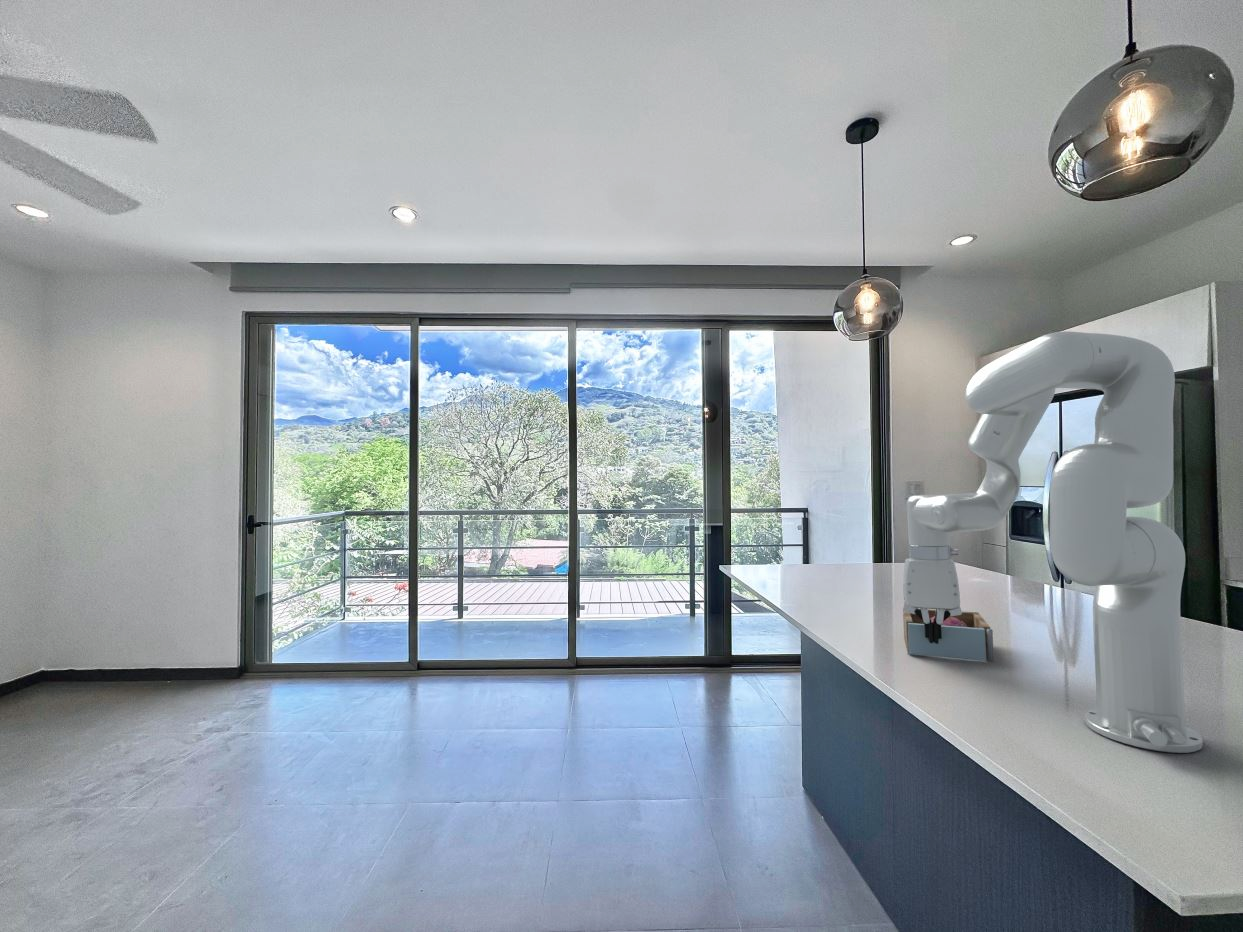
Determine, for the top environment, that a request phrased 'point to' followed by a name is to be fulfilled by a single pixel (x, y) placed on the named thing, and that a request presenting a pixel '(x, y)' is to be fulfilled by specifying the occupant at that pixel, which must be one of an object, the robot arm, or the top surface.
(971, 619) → the wooden box
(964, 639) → the blue grey rectangular panel
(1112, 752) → the top surface
